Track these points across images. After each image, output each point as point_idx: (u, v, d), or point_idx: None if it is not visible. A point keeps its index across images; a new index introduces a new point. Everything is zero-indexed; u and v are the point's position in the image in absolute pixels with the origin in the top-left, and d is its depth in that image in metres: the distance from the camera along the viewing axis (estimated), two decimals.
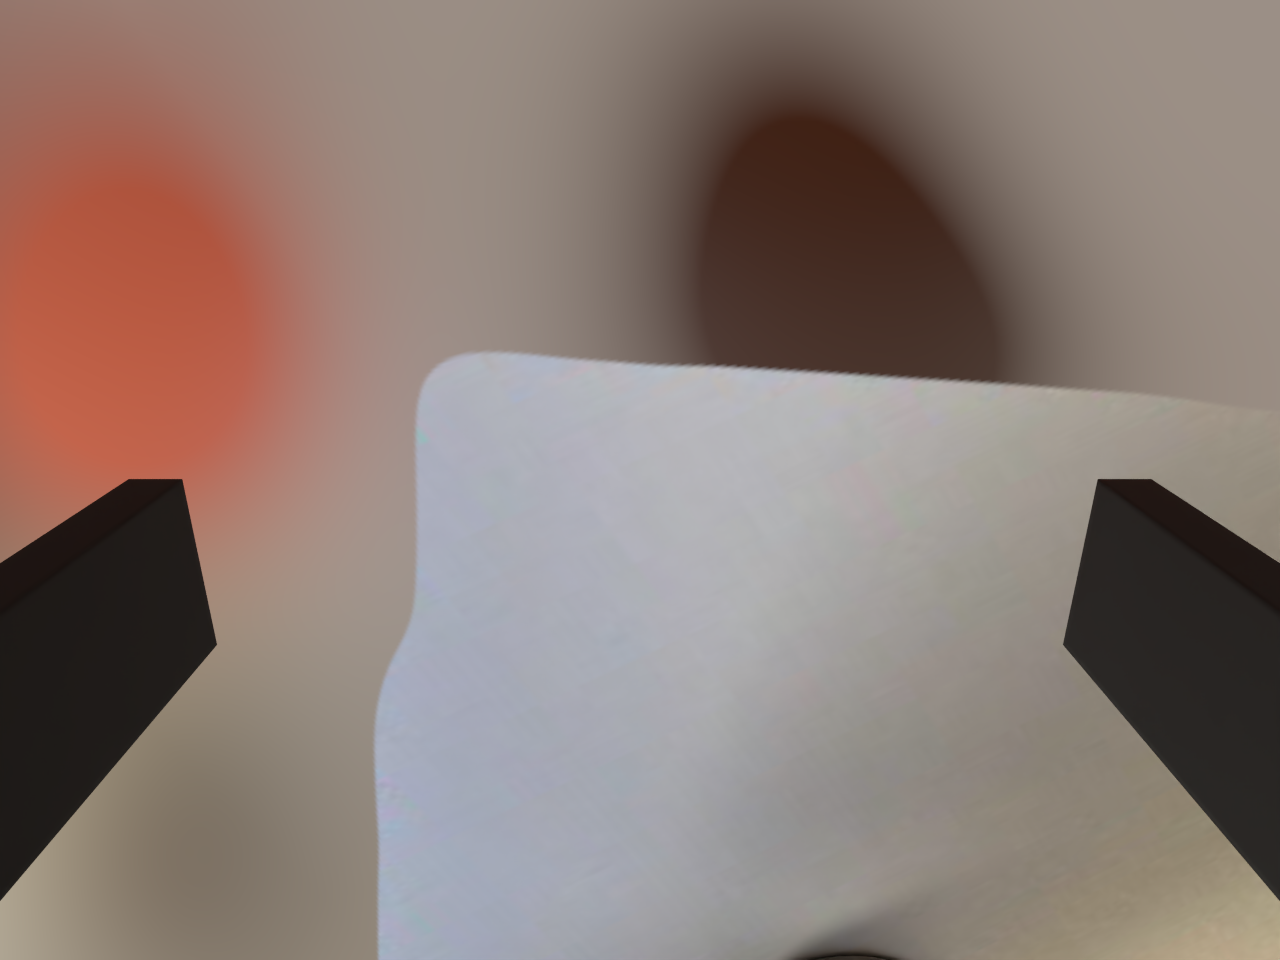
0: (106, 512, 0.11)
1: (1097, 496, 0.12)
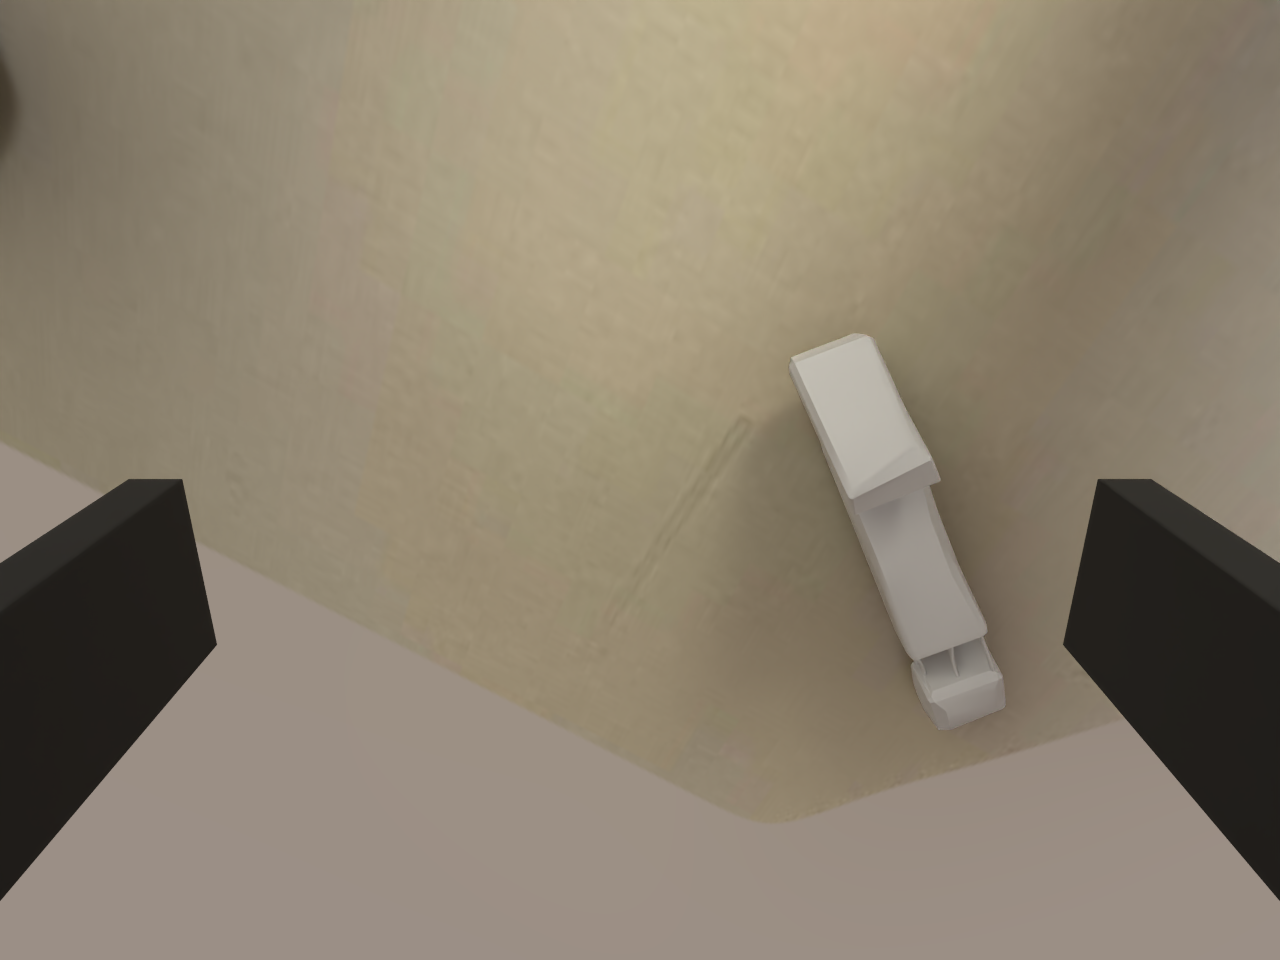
0: (106, 512, 0.11)
1: (1097, 496, 0.12)
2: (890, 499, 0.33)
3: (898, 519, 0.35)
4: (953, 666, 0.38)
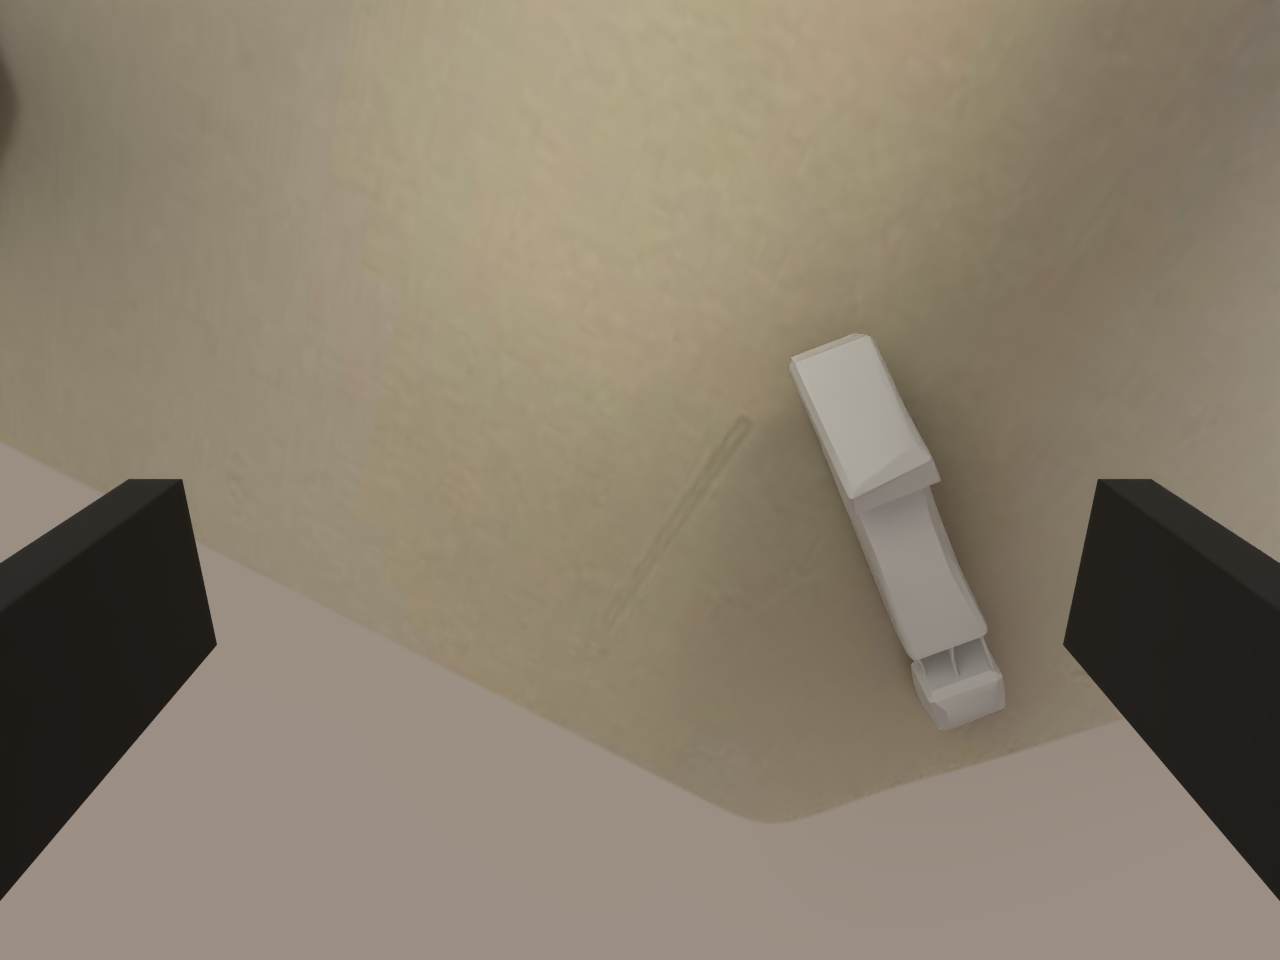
0: (106, 512, 0.11)
1: (1097, 496, 0.12)
2: (890, 499, 0.33)
3: (898, 519, 0.35)
4: (953, 666, 0.38)
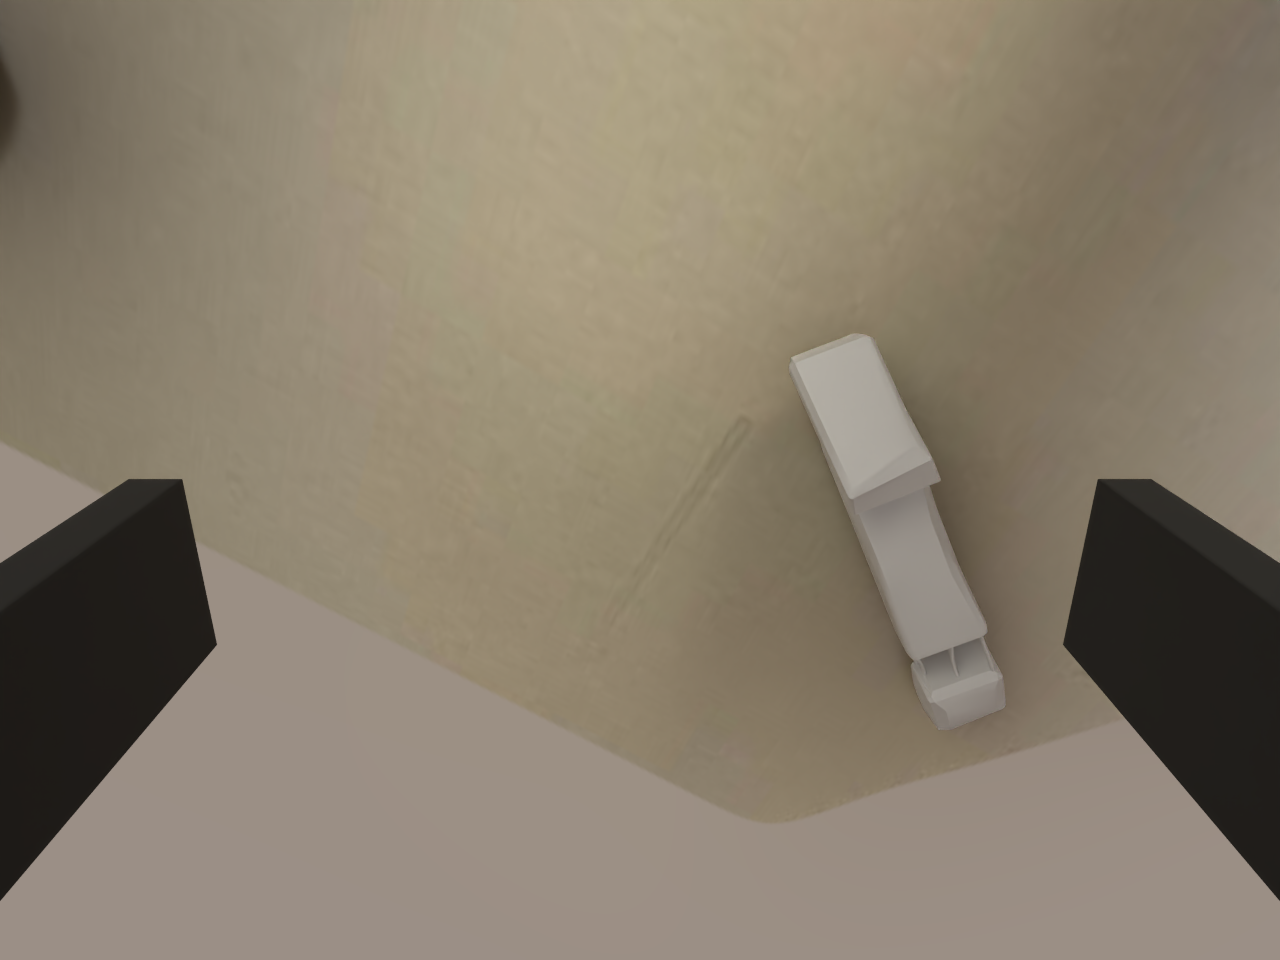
0: (106, 512, 0.11)
1: (1097, 496, 0.12)
2: (890, 499, 0.33)
3: (898, 519, 0.35)
4: (953, 666, 0.38)
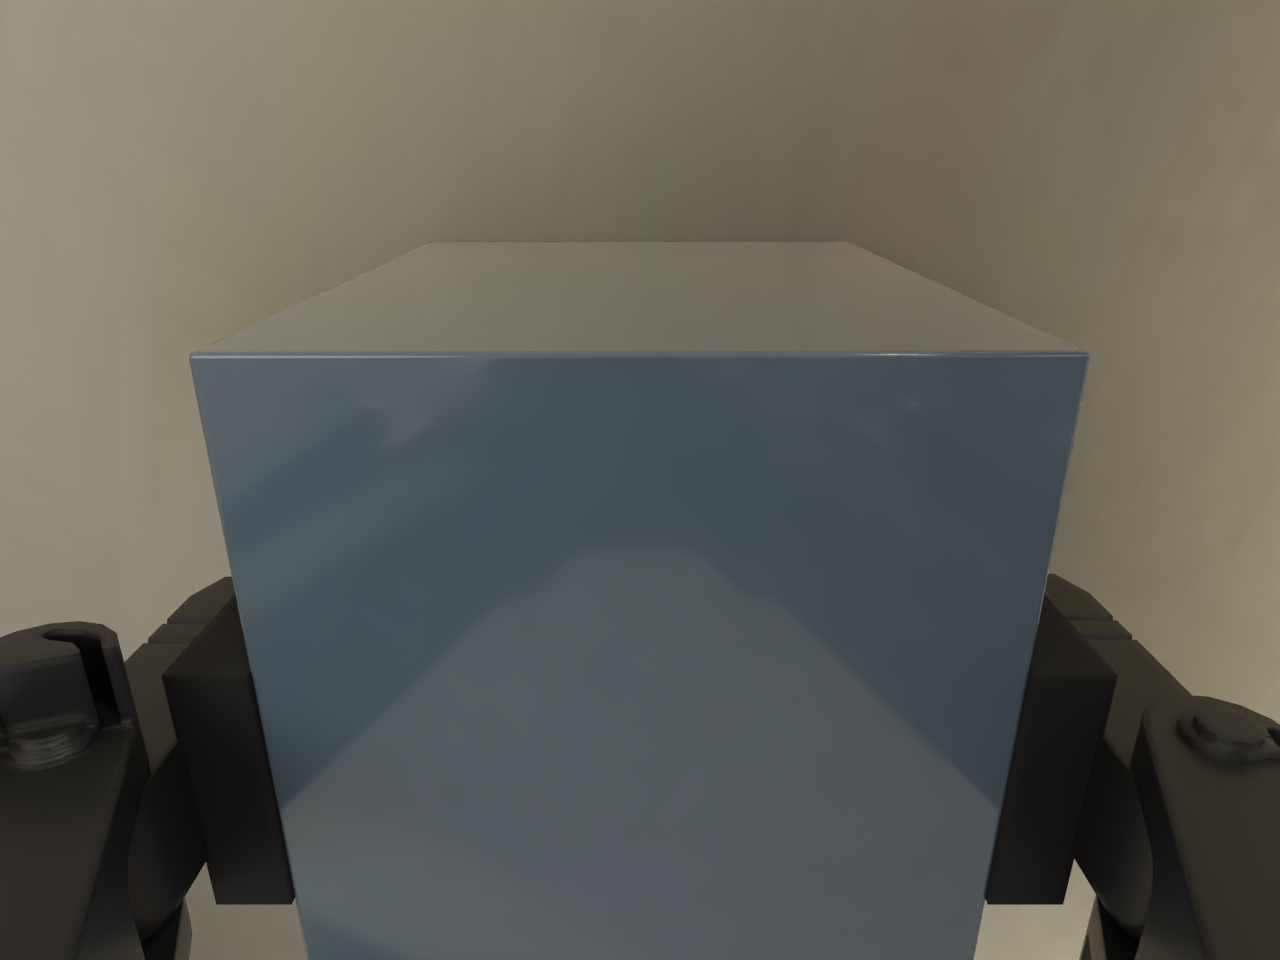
0: None
1: None
2: None
3: None
4: None
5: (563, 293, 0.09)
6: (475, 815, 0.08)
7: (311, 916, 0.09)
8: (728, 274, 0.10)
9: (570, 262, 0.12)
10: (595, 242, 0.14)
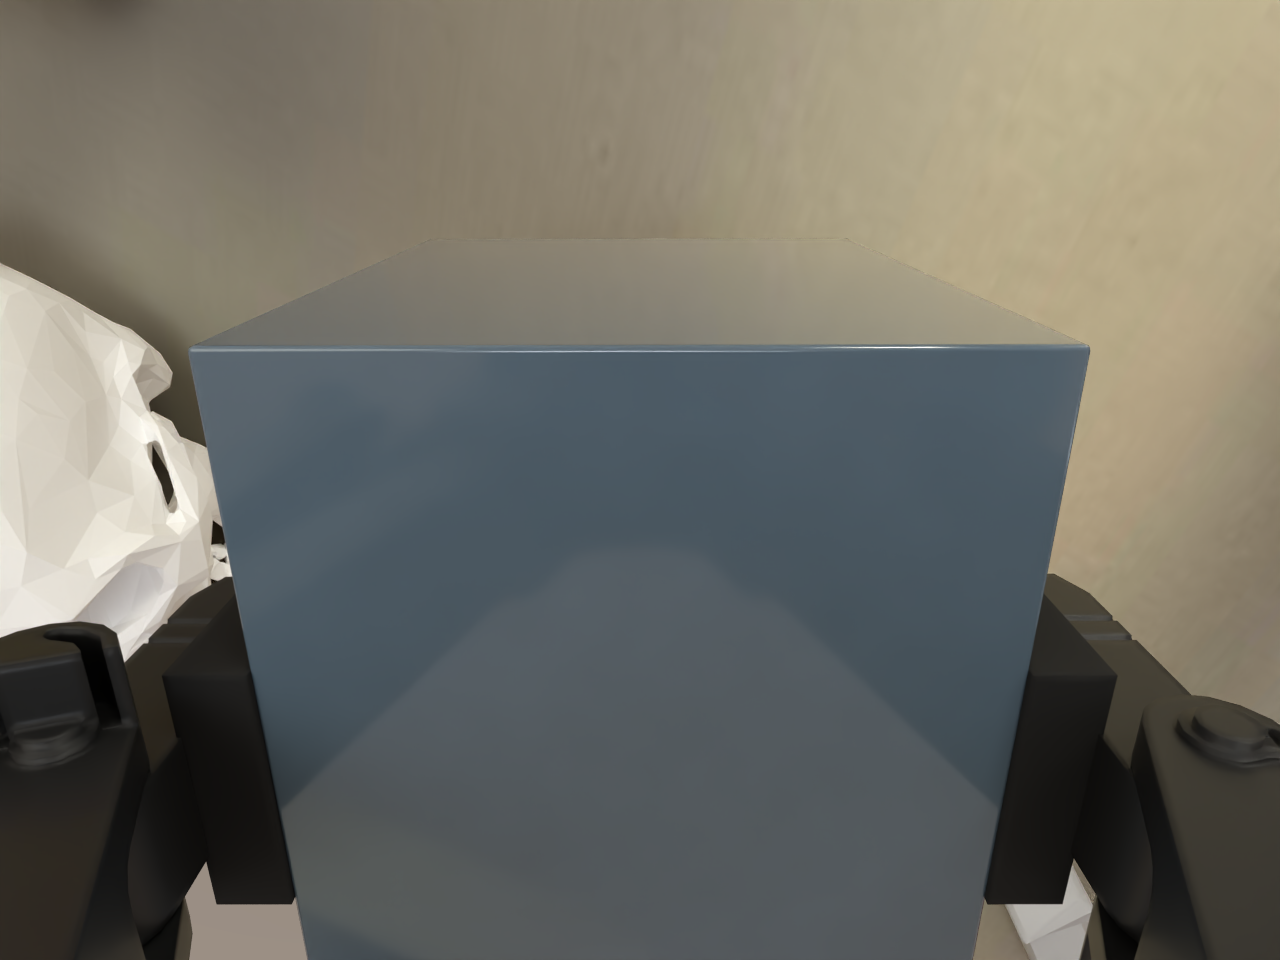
0: None
1: None
2: (1054, 931, 0.39)
3: None
4: None
5: (563, 288, 0.09)
6: (475, 810, 0.08)
7: (310, 912, 0.09)
8: (728, 270, 0.10)
9: (570, 258, 0.12)
10: (595, 239, 0.14)
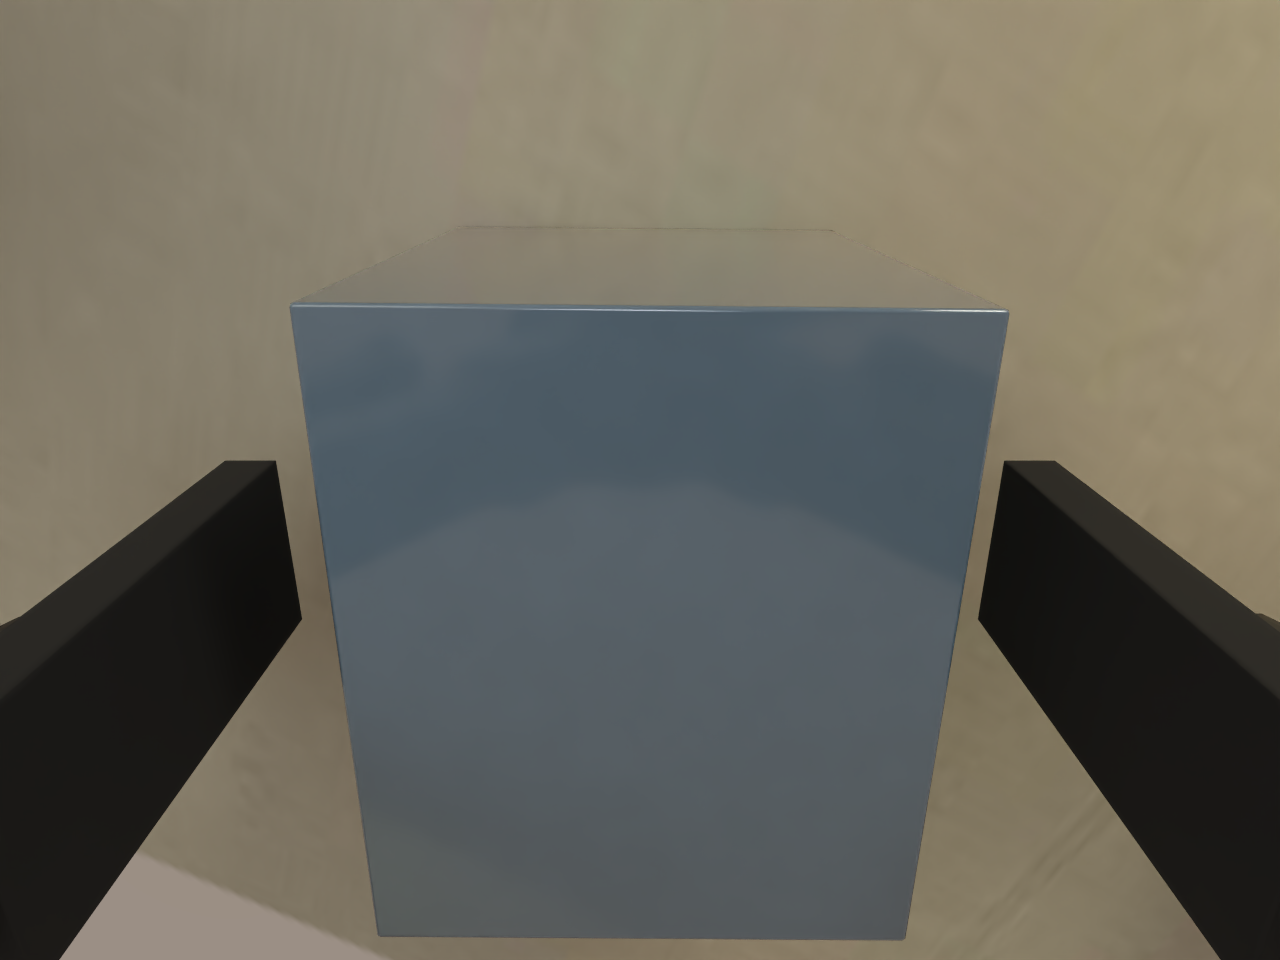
0: (214, 490, 0.12)
1: (1003, 477, 0.13)
2: None
3: None
4: None
5: (583, 266, 0.11)
6: (507, 696, 0.10)
7: (367, 785, 0.10)
8: (723, 254, 0.12)
9: (586, 243, 0.13)
10: (606, 228, 0.16)
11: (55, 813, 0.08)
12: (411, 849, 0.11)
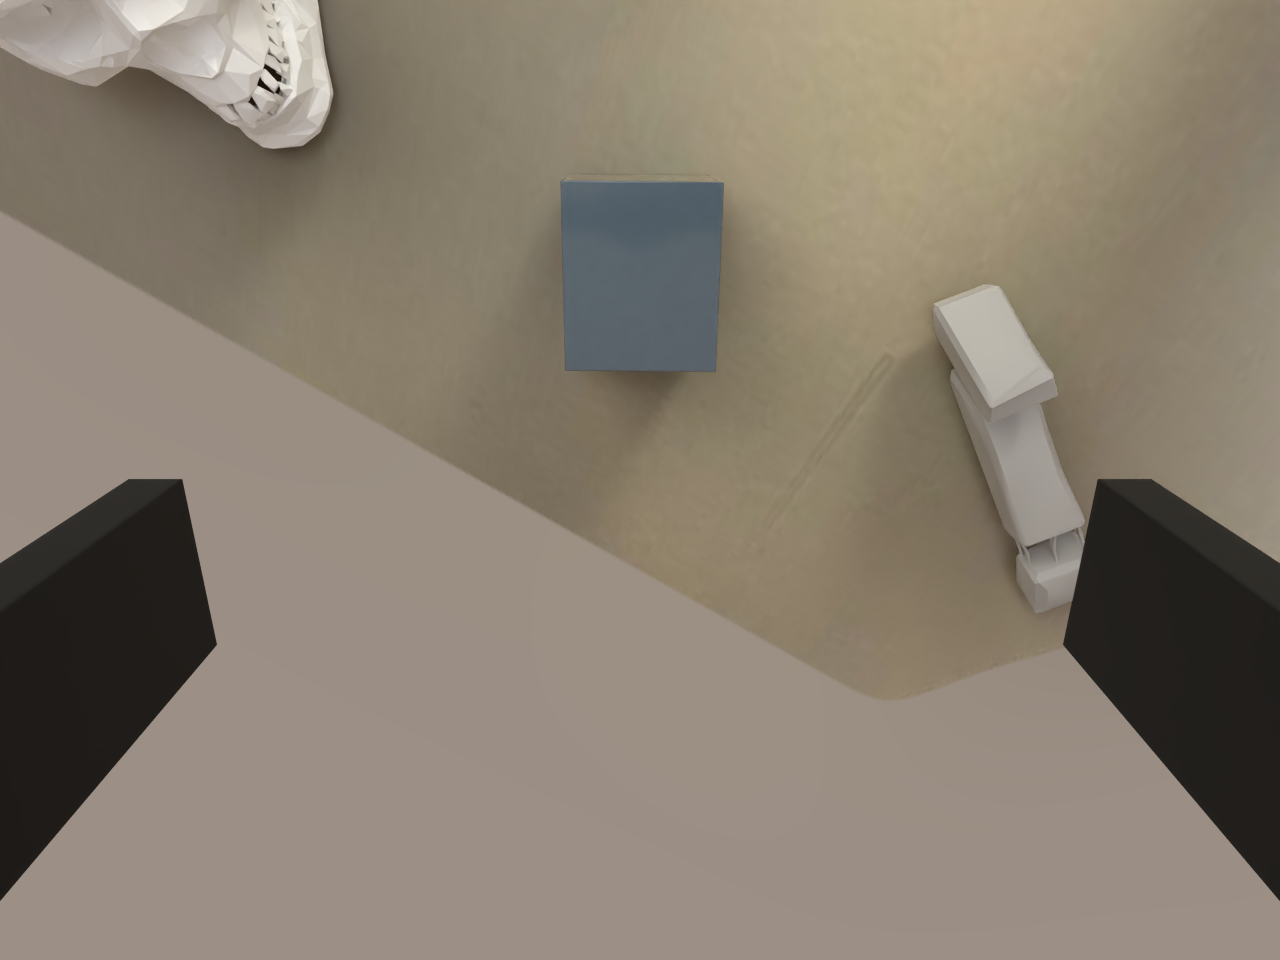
0: (106, 512, 0.11)
1: (1097, 496, 0.12)
2: (1018, 410, 0.42)
3: (1018, 431, 0.45)
4: (1054, 553, 0.48)
5: (624, 178, 0.39)
6: (605, 287, 0.38)
7: (567, 316, 0.39)
8: None
9: (622, 176, 0.42)
10: None
11: None
12: (577, 338, 0.39)
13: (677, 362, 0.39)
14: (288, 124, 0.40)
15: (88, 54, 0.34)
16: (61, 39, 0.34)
